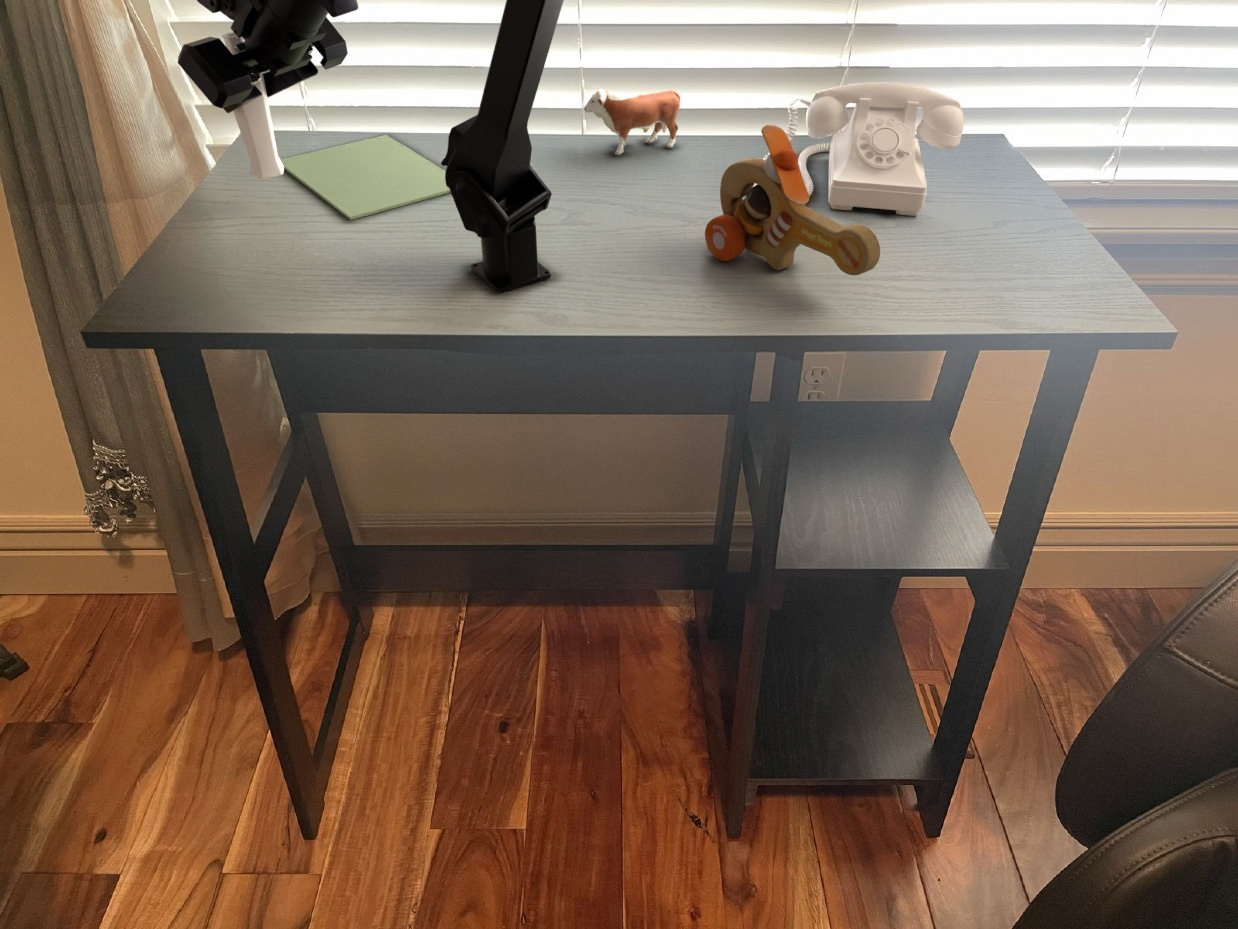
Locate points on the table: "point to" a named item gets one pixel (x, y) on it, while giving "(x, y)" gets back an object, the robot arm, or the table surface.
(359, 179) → the mat
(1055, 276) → the table surface
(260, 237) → the table surface
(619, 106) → the bull figurine
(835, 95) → the telephone
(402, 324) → the table surface
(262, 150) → the perfume bottle
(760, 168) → the toy helicopter
